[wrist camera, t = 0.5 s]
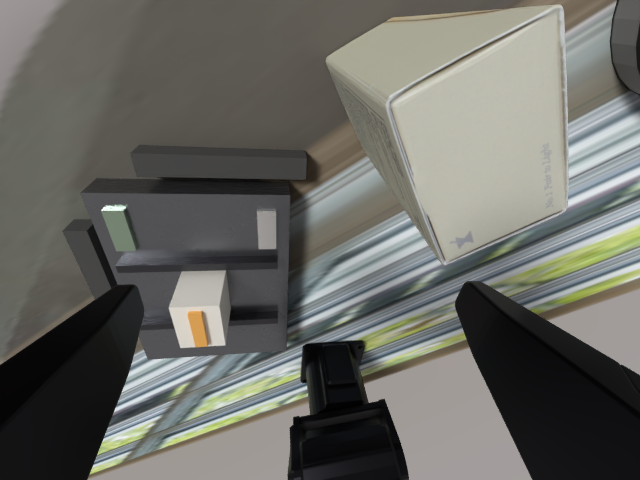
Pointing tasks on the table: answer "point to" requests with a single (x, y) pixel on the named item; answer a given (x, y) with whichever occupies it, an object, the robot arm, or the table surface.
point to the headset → (626, 43)
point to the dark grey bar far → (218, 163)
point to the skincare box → (464, 120)
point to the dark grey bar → (90, 256)
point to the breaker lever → (201, 308)
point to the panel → (199, 253)
